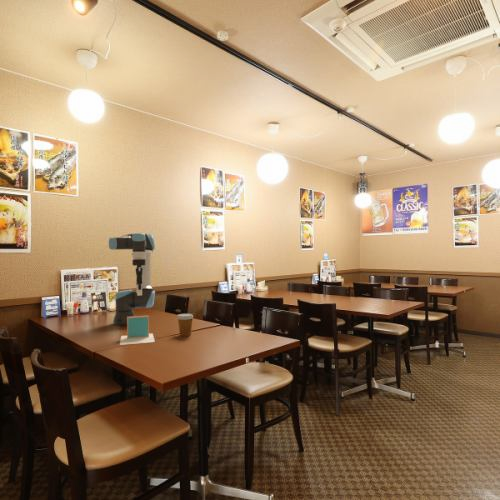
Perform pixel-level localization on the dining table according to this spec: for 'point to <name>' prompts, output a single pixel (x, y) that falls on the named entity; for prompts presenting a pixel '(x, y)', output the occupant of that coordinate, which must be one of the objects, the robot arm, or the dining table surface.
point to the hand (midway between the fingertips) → (139, 294)
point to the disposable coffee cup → (185, 324)
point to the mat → (136, 340)
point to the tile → (137, 326)
